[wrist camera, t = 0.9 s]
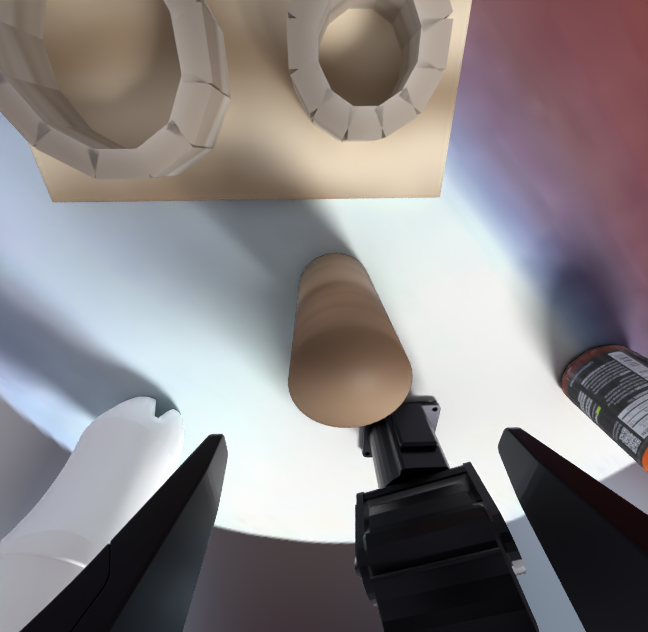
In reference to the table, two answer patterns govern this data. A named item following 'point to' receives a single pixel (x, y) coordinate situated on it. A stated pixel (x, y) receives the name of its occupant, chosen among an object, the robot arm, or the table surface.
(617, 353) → the supplement bottle
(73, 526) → the water bottle
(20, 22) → the two-ring peg board
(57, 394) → the table surface
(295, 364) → the walnut peg
